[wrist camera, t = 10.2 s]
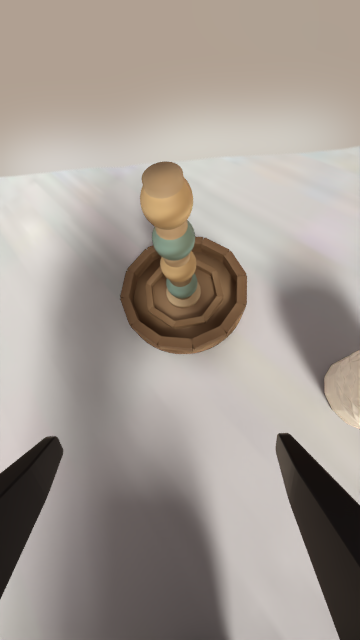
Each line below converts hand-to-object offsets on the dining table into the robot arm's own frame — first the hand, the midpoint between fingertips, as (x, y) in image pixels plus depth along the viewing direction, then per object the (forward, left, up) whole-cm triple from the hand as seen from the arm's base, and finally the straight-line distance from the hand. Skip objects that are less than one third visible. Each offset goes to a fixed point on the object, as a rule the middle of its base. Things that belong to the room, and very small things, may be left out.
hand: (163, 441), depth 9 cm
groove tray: (+11, +8, -14) cm, 19 cm away
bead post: (+11, +8, -13) cm, 19 cm away
